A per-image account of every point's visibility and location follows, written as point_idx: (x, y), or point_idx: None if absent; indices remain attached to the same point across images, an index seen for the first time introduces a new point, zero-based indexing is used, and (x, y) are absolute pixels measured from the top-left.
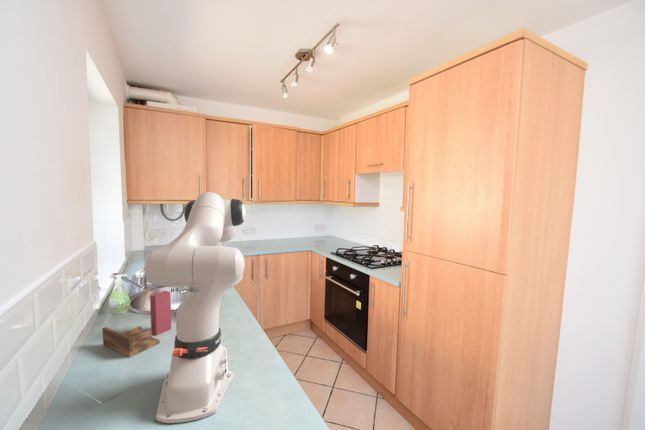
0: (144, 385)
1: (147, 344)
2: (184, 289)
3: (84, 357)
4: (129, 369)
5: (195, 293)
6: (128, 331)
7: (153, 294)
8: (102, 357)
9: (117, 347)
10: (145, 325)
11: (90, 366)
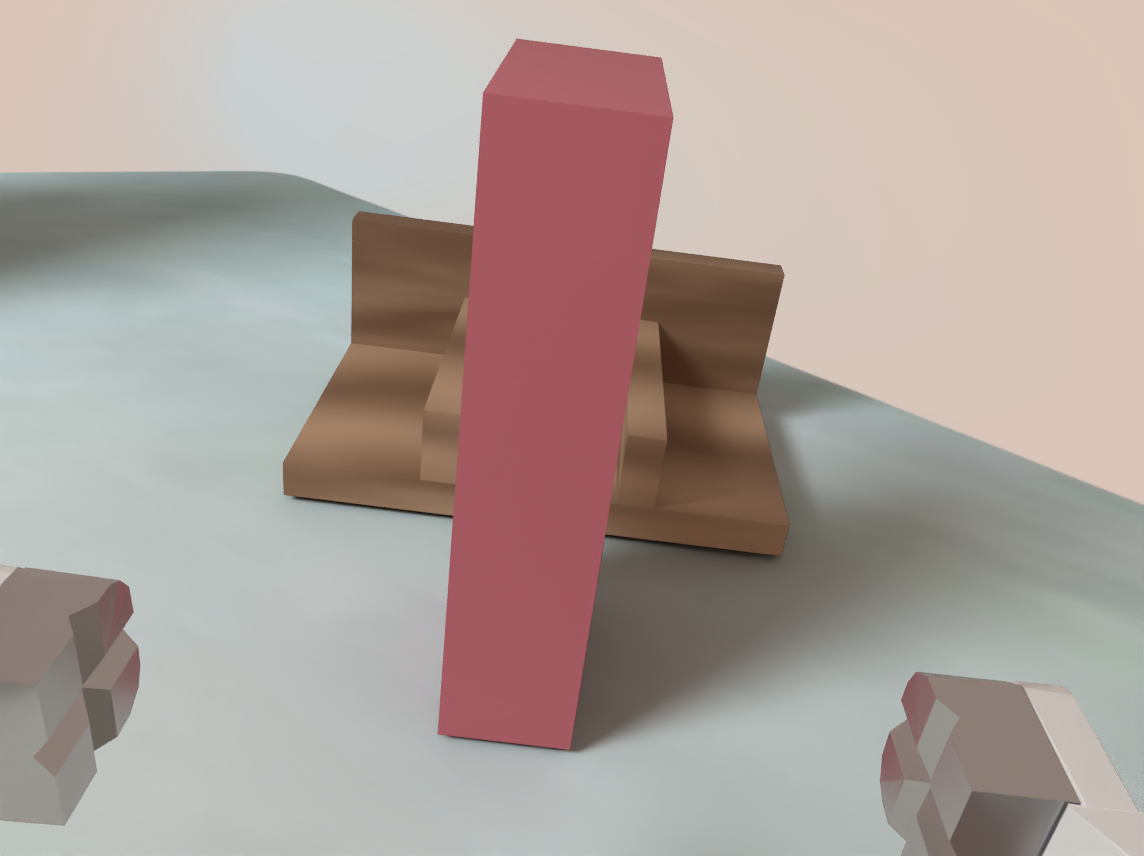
0: (2, 260)
1: (335, 406)
2: (948, 761)
3: None
4: (234, 311)
5: (87, 579)
6: (639, 373)
7: (649, 65)
8: None
9: None
10: None
11: None
